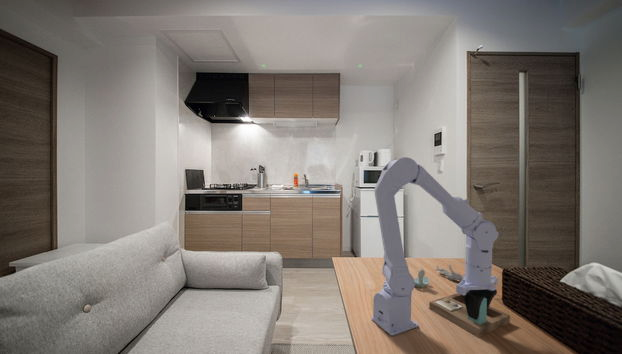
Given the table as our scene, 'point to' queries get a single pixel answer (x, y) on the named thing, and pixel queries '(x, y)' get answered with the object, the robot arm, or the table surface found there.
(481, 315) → the teal rectangular block
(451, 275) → the soldier figure
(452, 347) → the table surface
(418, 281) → the pacifier
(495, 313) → the wooden sorting tray
